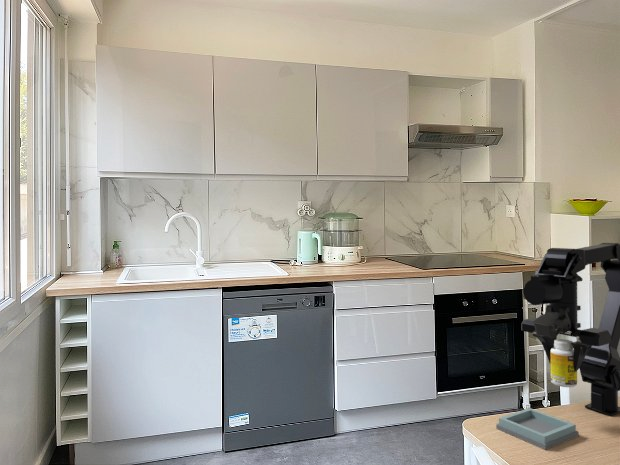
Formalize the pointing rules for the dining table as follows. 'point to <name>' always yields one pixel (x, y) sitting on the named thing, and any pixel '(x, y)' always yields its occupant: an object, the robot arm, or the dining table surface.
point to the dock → (537, 428)
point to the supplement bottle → (563, 364)
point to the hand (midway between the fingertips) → (563, 367)
